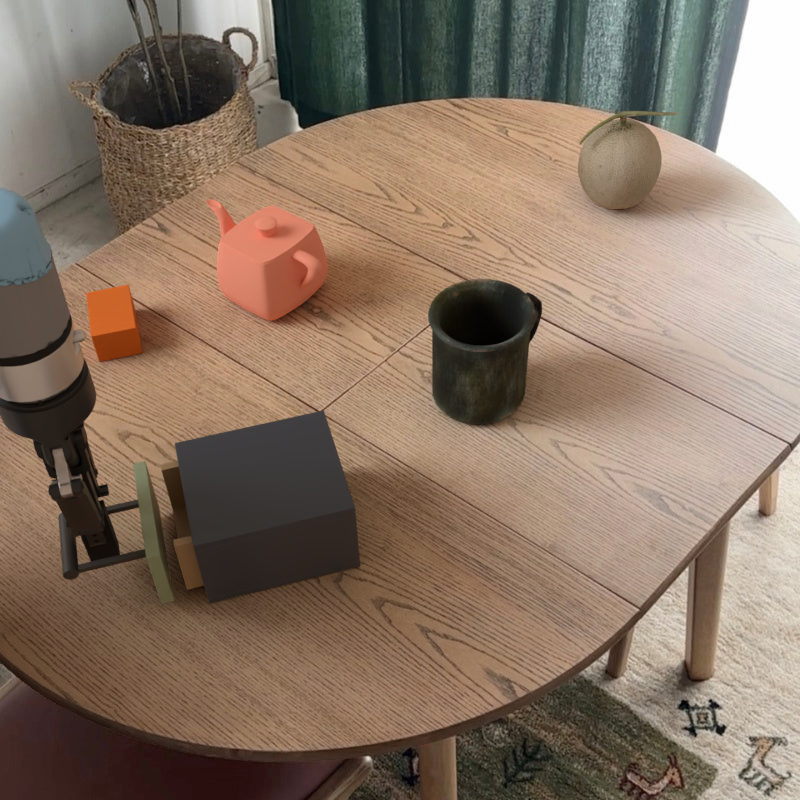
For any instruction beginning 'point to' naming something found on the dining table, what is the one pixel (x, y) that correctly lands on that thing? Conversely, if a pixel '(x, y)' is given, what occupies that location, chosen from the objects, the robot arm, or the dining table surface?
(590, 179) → the fruit
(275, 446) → the cabinet
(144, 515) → the drawer
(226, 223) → the teapot
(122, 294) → the orange gripped block
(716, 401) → the dining table surface
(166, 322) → the dining table surface
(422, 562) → the dining table surface
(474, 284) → the mug
